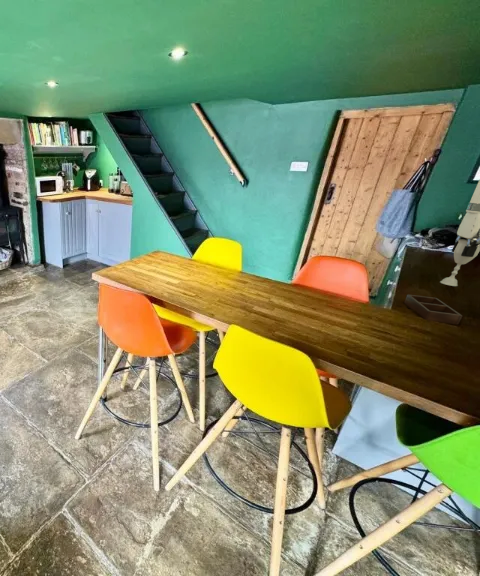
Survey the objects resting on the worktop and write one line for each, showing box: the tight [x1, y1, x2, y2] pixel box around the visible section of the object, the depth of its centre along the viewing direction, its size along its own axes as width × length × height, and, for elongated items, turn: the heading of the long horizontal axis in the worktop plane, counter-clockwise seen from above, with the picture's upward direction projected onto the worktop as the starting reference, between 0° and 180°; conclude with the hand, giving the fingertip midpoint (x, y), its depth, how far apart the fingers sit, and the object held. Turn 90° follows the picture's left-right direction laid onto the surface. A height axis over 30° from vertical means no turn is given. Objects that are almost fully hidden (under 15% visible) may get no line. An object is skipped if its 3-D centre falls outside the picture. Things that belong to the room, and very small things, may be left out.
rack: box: [403, 293, 463, 325], centre depth 130 cm, size 10×19×5 cm, turn 155°
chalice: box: [439, 239, 480, 287], centre depth 121 cm, size 7×7×18 cm
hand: (461, 254), depth 120 cm, fingers closed on chalice, 6 cm apart
